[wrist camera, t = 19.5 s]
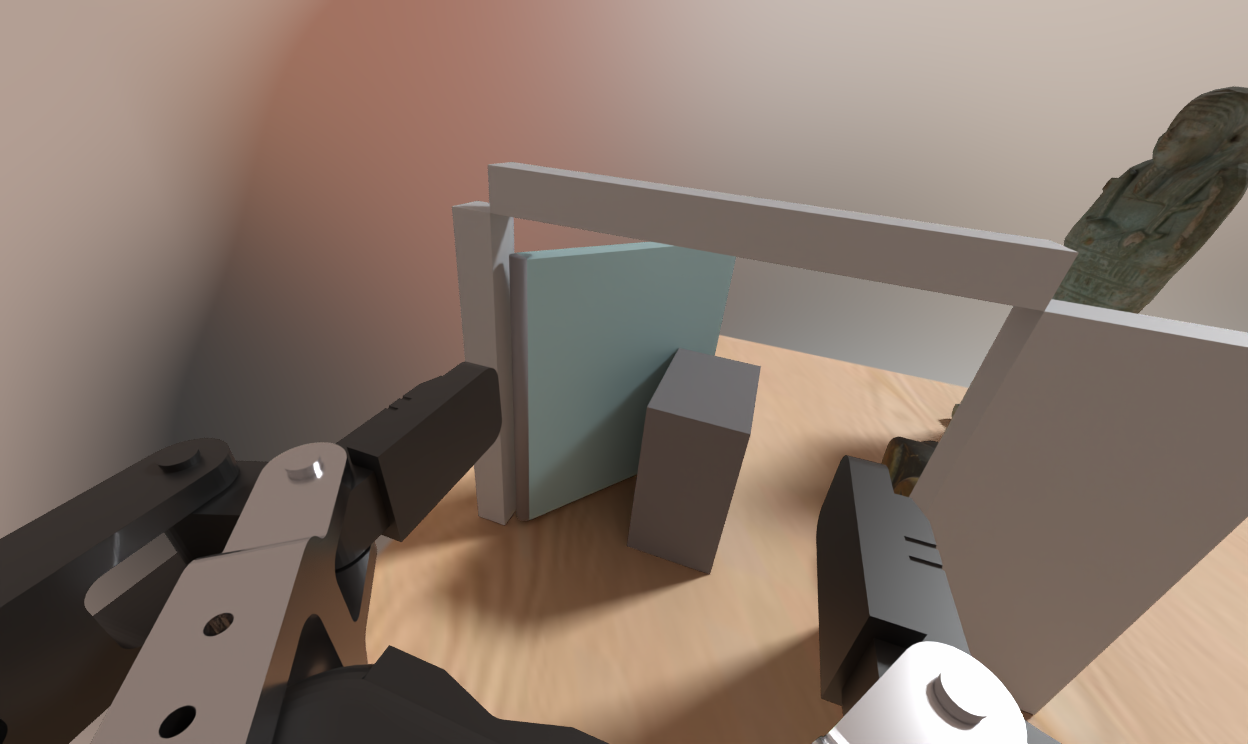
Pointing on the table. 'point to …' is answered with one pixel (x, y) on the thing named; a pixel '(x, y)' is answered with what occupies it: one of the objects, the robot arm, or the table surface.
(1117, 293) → the figurine
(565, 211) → the wall frame
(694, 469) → the doorstop block
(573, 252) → the door
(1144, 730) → the table surface
